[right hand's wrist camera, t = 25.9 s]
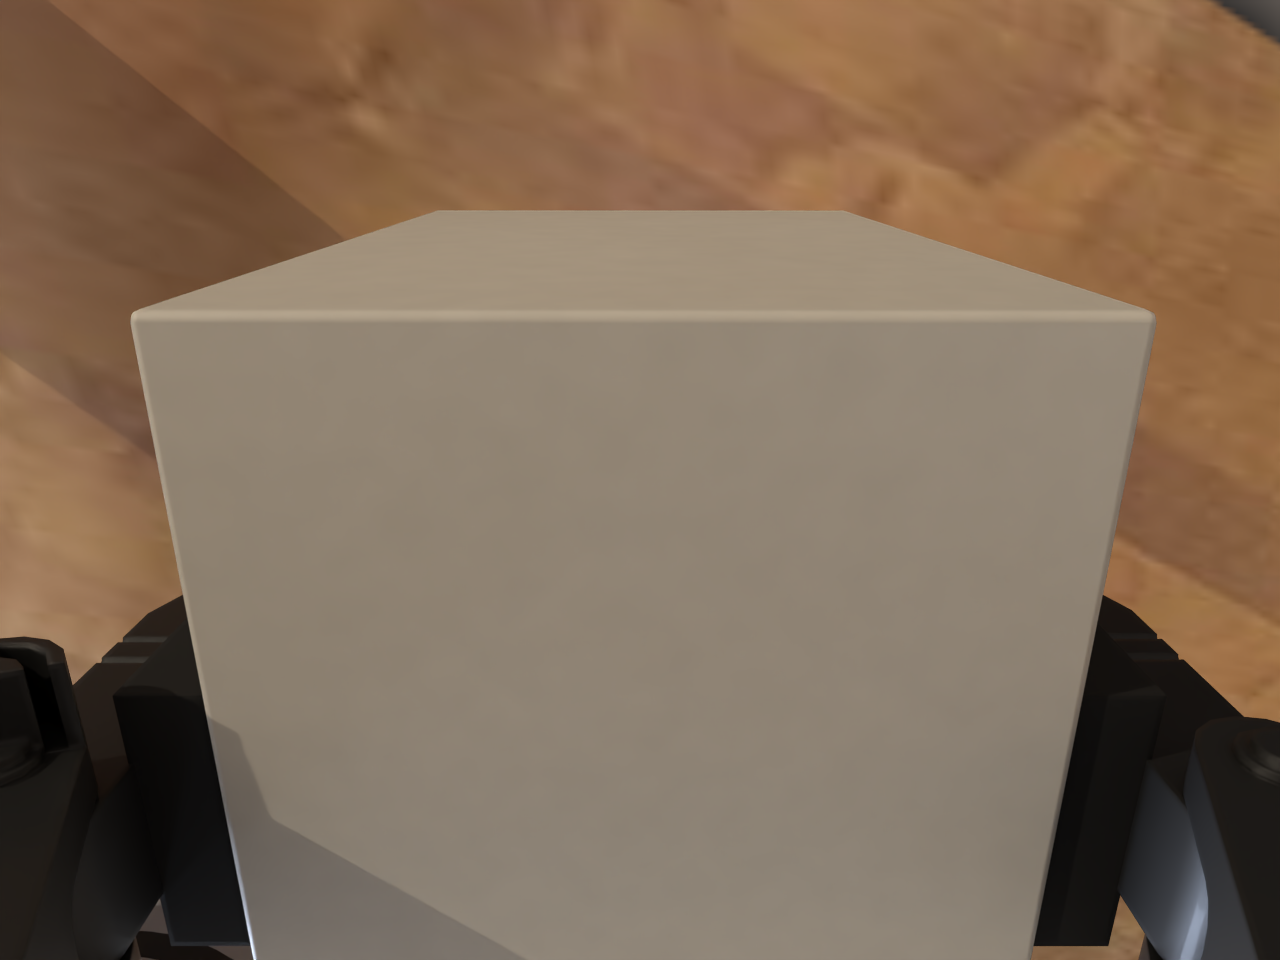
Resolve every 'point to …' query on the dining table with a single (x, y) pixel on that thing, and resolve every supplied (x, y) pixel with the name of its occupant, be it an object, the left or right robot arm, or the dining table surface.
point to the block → (642, 582)
